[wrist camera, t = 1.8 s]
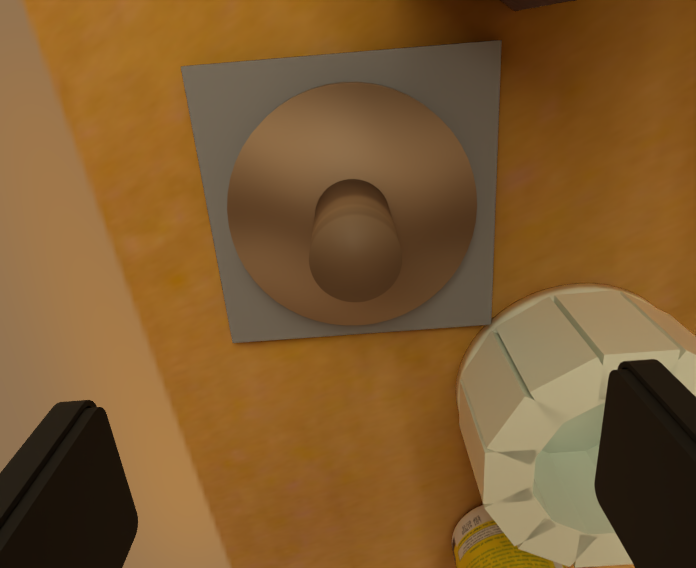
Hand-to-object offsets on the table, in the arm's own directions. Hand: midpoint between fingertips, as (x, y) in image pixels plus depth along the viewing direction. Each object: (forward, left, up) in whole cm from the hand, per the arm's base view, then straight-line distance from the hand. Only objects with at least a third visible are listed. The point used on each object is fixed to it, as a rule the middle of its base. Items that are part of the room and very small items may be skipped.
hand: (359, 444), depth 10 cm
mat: (0, 0, -15) cm, 15 cm away
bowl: (+10, +10, -15) cm, 20 cm away
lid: (0, 0, -14) cm, 14 cm away
